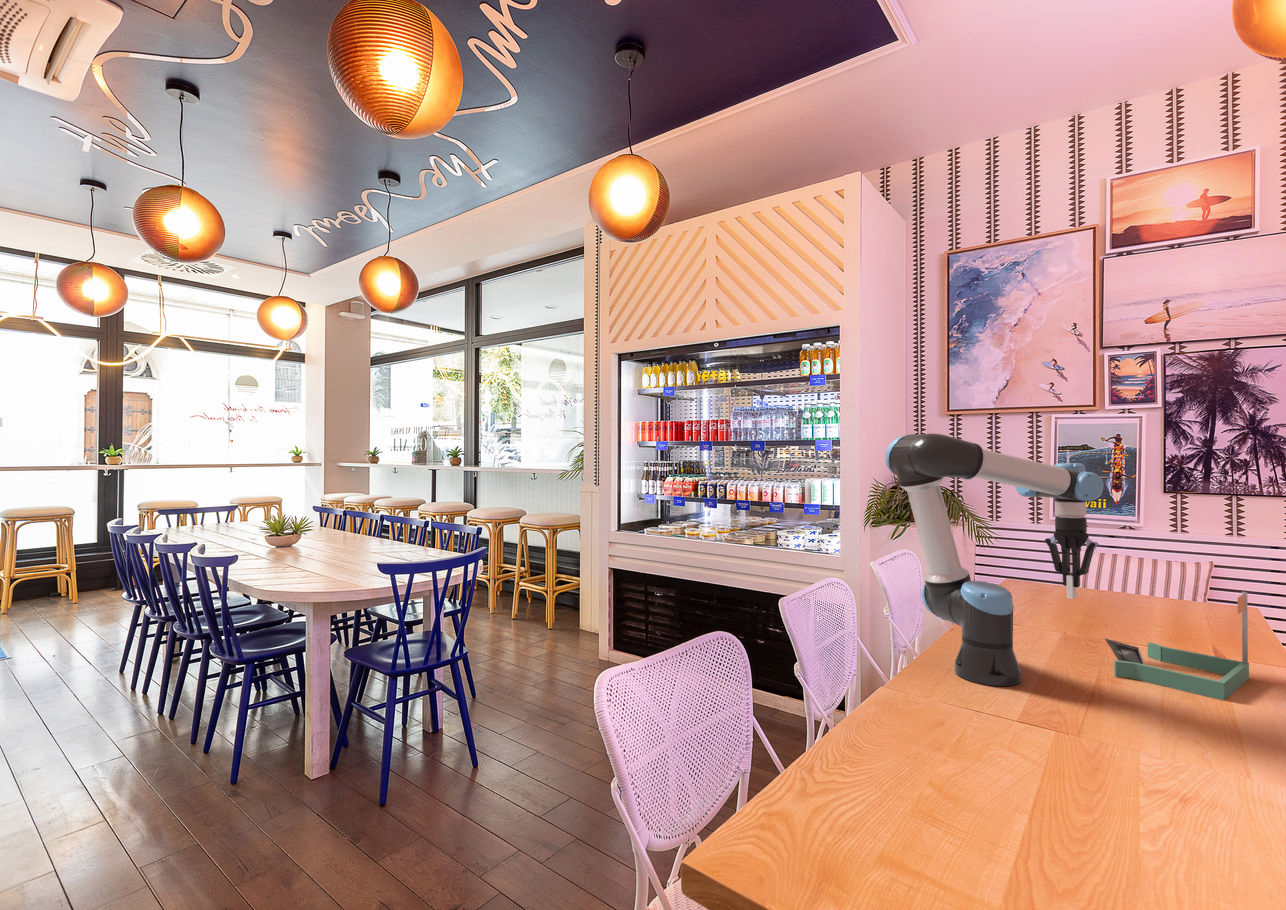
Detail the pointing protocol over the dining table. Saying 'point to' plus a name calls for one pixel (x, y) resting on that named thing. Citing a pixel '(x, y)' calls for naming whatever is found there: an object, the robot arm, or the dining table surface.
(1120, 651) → the paper boat
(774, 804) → the dining table surface
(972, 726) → the dining table surface
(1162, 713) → the dining table surface
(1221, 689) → the green u-shaped frame
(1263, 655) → the dining table surface
